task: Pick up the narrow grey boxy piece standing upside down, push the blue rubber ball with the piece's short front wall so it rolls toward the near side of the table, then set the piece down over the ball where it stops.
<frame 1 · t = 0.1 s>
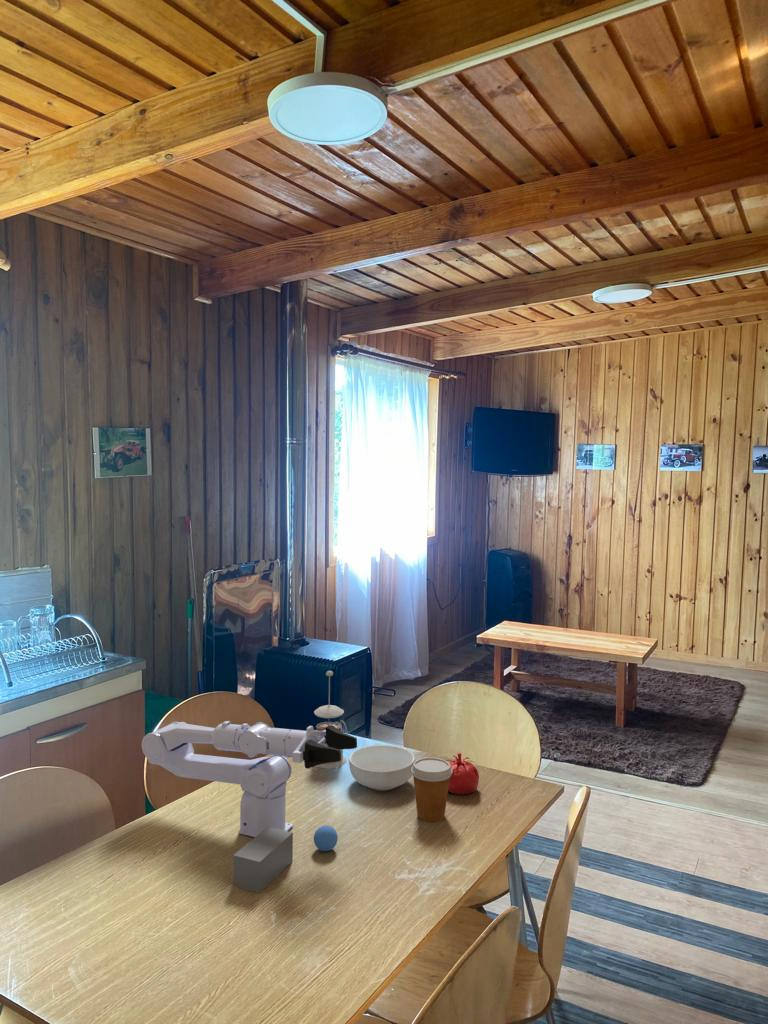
hand: (348, 749, 156), 22 cm above the table, tool horizontal, fingers open, 7 cm apart
ball: (325, 838, 157), on the table
pomegranate: (459, 790, 187), on the table
french press: (330, 762, 204), on the table
disposable coffee cup: (430, 816, 174), on the table
cereal bowl: (381, 784, 190), on the table
grey boxy piece: (263, 872, 148), on the table
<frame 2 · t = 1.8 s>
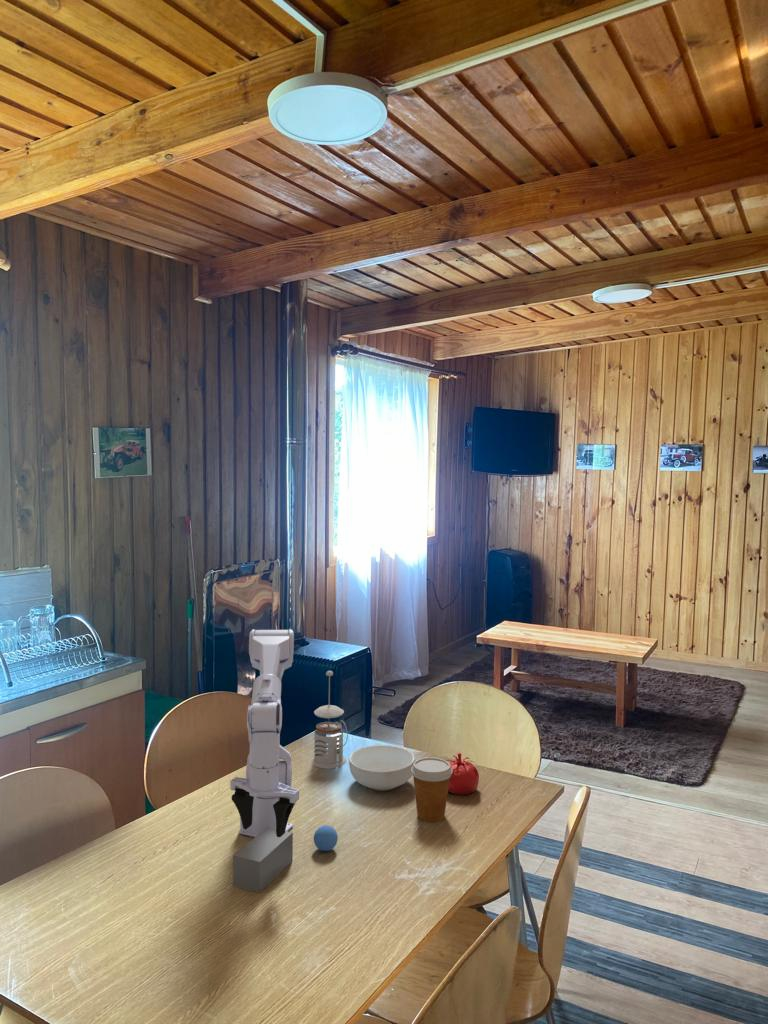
hand: (264, 830, 147), 9 cm above the table, tool pointing down, fingers open, 7 cm apart
nothing on the table moved.
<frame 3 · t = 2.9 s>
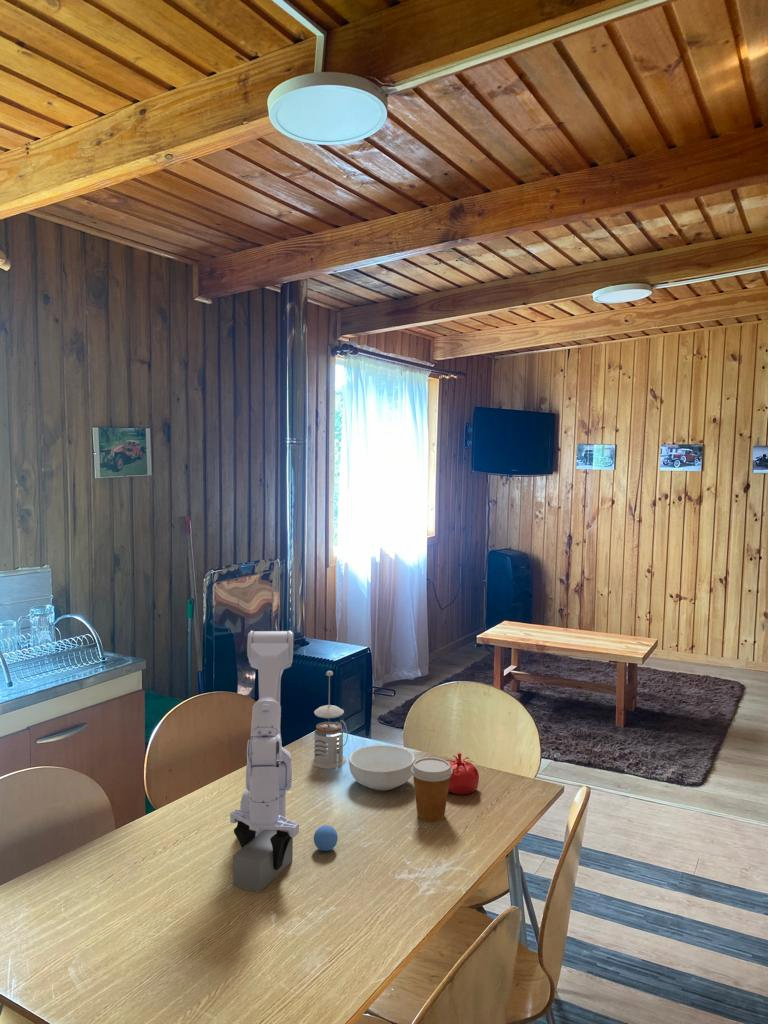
hand: (263, 863, 148), 2 cm above the table, tool pointing down, fingers closed on grey boxy piece, 6 cm apart
grey boxy piece: (263, 872, 148), on the table, touching gripper
everything else where it was.
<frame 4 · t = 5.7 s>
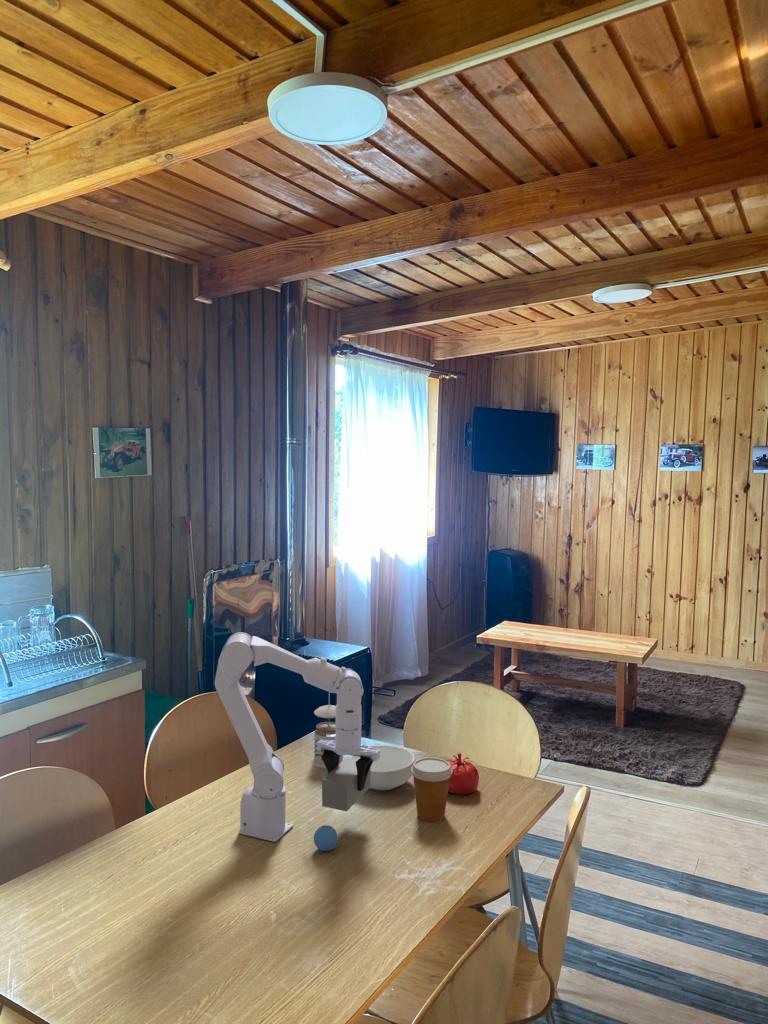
hand: (347, 786, 166), 9 cm above the table, tool pointing down, fingers closed on grey boxy piece, 6 cm apart
grey boxy piece: (346, 796, 166), point 7 cm above the table, touching gripper
everything else where it was.
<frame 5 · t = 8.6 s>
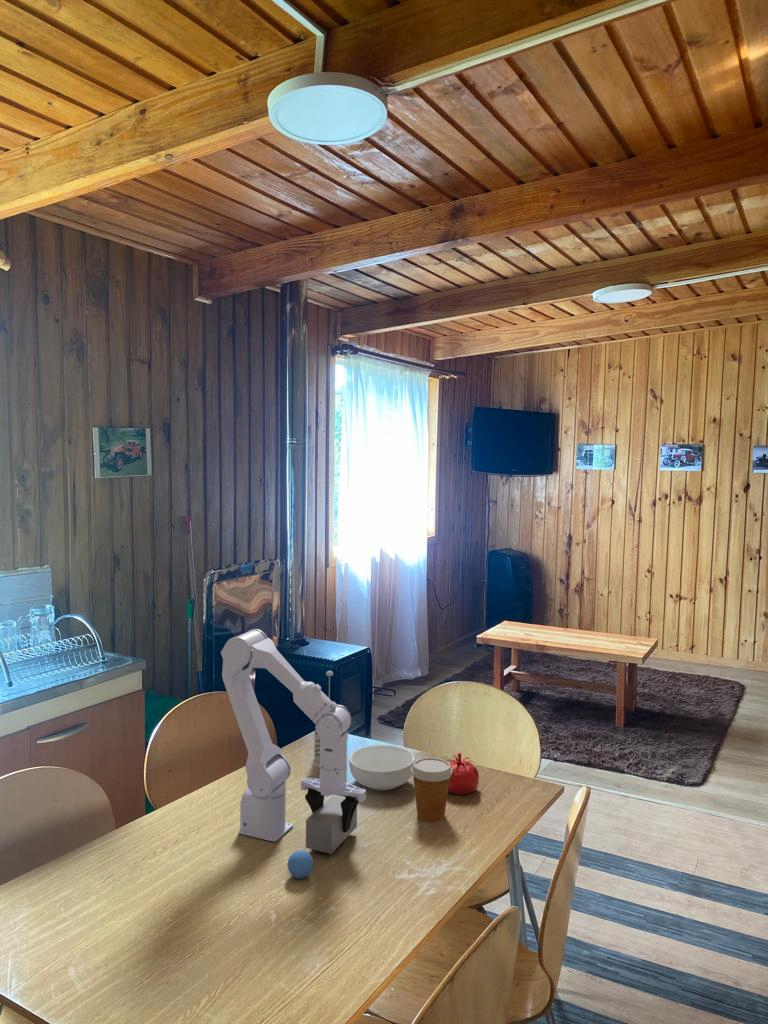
hand: (332, 827, 160), 3 cm above the table, tool pointing down, fingers closed on grey boxy piece, 6 cm apart
ball: (300, 864, 147), on the table
grey boxy piece: (332, 837, 160), point 1 cm above the table, touching gripper
everything else where it was.
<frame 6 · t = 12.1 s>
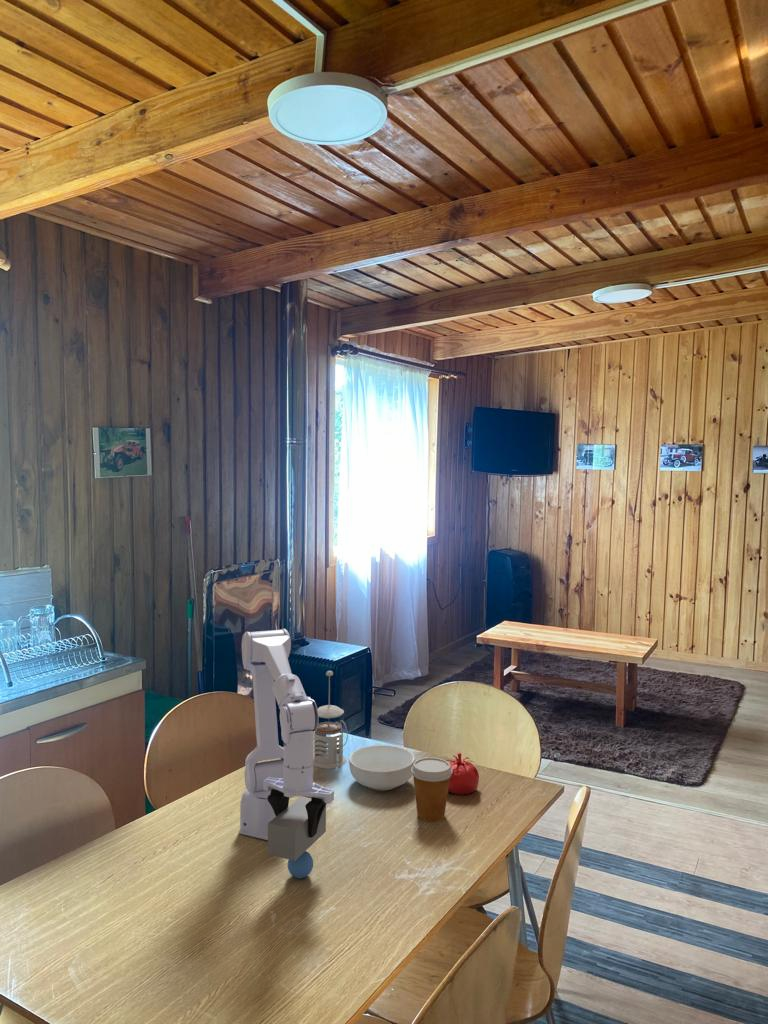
hand: (297, 831, 146), 9 cm above the table, tool pointing down, fingers closed on grey boxy piece, 6 cm apart
grey boxy piece: (297, 842, 146), point 7 cm above the table, touching gripper
everything else where it was.
when the fingers open (2 cm above the table, at t = 15.3 s): grey boxy piece stays where it is, on the table.
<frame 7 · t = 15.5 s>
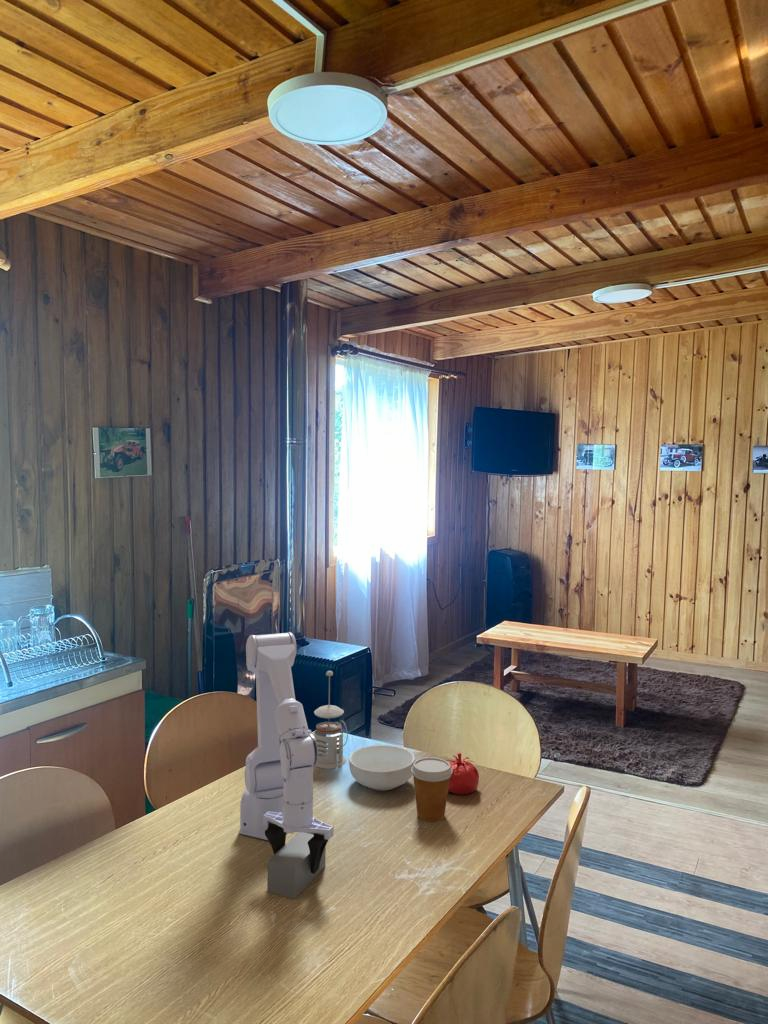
hand: (297, 866, 146), 2 cm above the table, tool pointing down, fingers open, 7 cm apart
grey boxy piece: (297, 878, 146), on the table
everything else where it was.
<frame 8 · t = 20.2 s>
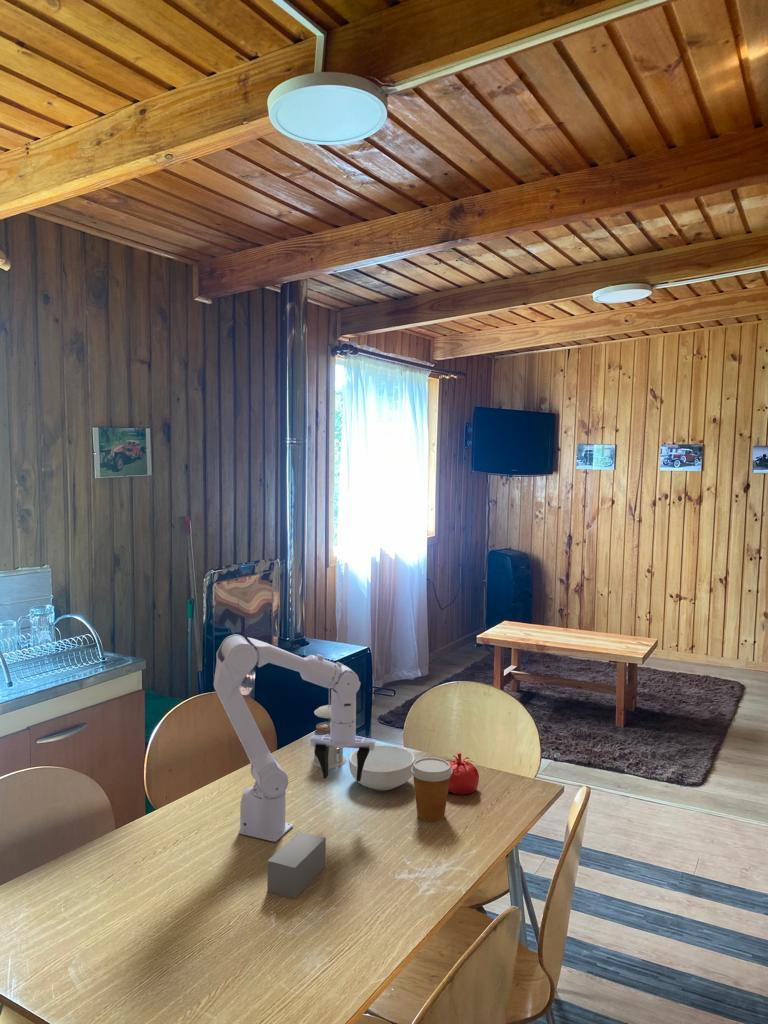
hand: (342, 778, 171), 9 cm above the table, tool pointing down, fingers open, 7 cm apart
nothing on the table moved.
at the end: ball 0.9 cm from the grey boxy piece (horizontally); grey boxy piece on the table; ball moved 11.1 cm from its start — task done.
